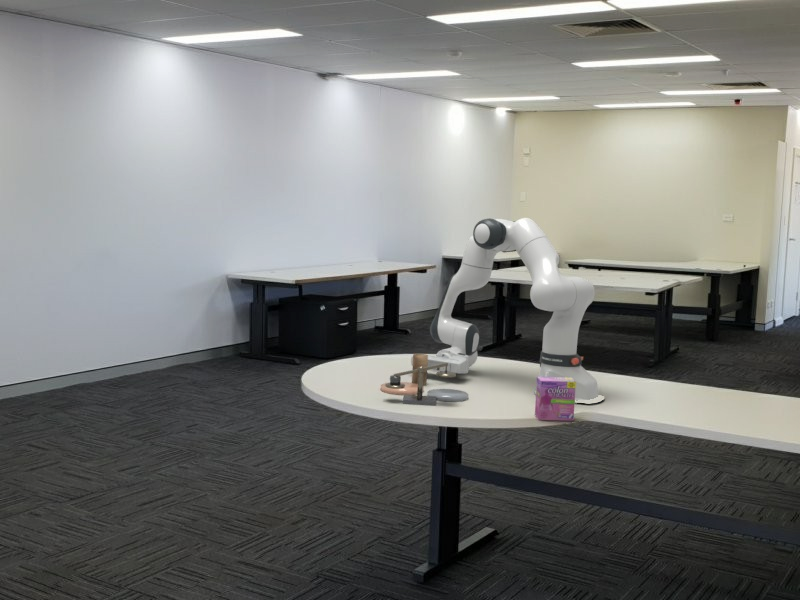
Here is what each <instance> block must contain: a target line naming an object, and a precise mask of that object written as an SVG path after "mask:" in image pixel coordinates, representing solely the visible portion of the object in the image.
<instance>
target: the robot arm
mask: <svg viewBox="0 0 800 600" xmlns="http://www.w3.org/2000/svg"><path fill="white" fill-rule="evenodd" d="M499 252H502V253H511V252H512V253H513V252H514V253H515V252H517V254H518V256H519V258H520V259H521V261H522V262H523V265H524V266H525V268H526V270H527V271H528V273H529V275H530V278H531V282H532V286H530V287H531V288H530V291H529V296H530V297H529V298H530V300H531V303H532V305H533V306H534V307H535V308H537V309H539V310H542V311H547V312H553V313H552V315H551V318H550V319H549V321H548V322H547V323H546V324H545V326H544V327H543V330H542V331H543V334H542V350H541V351H540V356H539V357H540V358H539V368H540V369H539V376H538V377H564V378H573V379H574V380H575V381H576V390H575V400H576V401H578V400H590V399H594V398H596V397H598V394H599V386H598V385H599V384H598V381H597V379H596V378H595V377H594V376H592V374H590V372H588V371H587V370H586V369H585V368H584V367H583V366H582V363H583V362H582V361H583V360H584V356H580V355H579V354H578V353H577V351H578V350H577V349H578V347H577V346H578V341H579V340H578V339H579V338H578V337H579V330H580V326H581V323H582V320H583V317H584V315H585V312H586V310H587V308H588V307H589V306H590V305H591V304H592V303H593V301H594V299H595V295H596V291H595V287H594V285H593V283H592V282H591V281H590V280H589V279H587V278H584V277H581V276H576V275H574V276H573V275H572V276H570V275H569V276H565V275H562V274H561V272H560V270H559V267H558V266H559V263H560V255H559V253H558V251H557V250H556V248H555V247H554V246H553V244H552V242H551V241H550V239H549V237H548V236H547V234H545V232H544V231H543V229H542V228H541V227H540V226H539V225H538V223H536V222H535V221H534V220H533V219H532V218H529V217H521V218H519V219H517V220H515V221H514V220H509V219H508V220H507V219H504V218H483V219H482V220H479V221H478V222H477V223H476V224H475V225H474V227H473V232H472V235H471V236H470V237H469V239H468V241H467V243H466V245H465V248H464V252H463V256H462V260H461V265H460V267H459V269H458V271H457V272H456V273H454V274H453V275H451V276H450V278H449V279H448V281H447V284H446V287H445V288H444V292H443V294H442V298H441V299H440V303H439V306H438V309H437V311H436V314H435V316H434V318H433V319H432V322H431V324H430V326H429V333H430V336H431V338H432V339H433V341H434V342H435V343H440V344H446V345H449V346H451V347H448V348H444V349H443V348H442V349H441V350H439V351H437V353H436V355H434V354H433V355H432V354H427V353H426V355H428V365H427V367H429V366H434V365H439V364H443V363H448V366H447V372H453V373H455V374H463V375H464V374H468V373H469V369H470V367H472V366H473V365H474V364H475V363H476V361H477V359H478V350H479V349H478V348H479V345H480V341H481V336H480V335H481V334H480V331H479V329H478V327H477V325H476V324H473V323H469V322H467V321H464V320H459V319H456V318H453V317H452V313H453V309H454V306H455V304H456V302H457V299H458V296H459V295H460V294H461V293H463V292H467V291H475V290H478V289H482V288H483V287H484V286H486V285H487V284H488V283H489V281H490V278H491V276H492V272H493V267H494V260H495V256H496V255H497V253H499ZM410 364H411V366H412V367H413V355H411V358H410ZM445 367H446V366H445ZM445 367H440V368H435V369H434V371H435V370H436V371H438V372H445ZM534 394H535V395H536V389H535V391H534Z"/></svg>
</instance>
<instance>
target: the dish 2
mask: <svg viewBox="0 0 800 600" xmlns="http://www.w3.org/2000/svg"><path fill="white" fill-rule="evenodd" d="M426 396H436V402H438V401H439V402H444V403H445V402H447V403H457V402H464V401H468V399H469V393H468V392H466V391H463V390H461V389H460V390H459V389H455V388H454V389H451V388H435V389H430V390H428V391H427V395H426Z"/></svg>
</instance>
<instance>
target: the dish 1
mask: <svg viewBox="0 0 800 600" xmlns="http://www.w3.org/2000/svg"><path fill="white" fill-rule="evenodd" d="M386 383H387V382H385V383H383V384H380V391H381V392H383V393H385V394H389V395H395V396H396V395H398V396H404V395H417V388H418V384H415V383H412V382H407V381H406V382H405V381H400V383H402V384H405V388H401V389H392V388H387V387H385V384H386ZM424 389H425V388H424V386H423V393H424V391H425V390H424Z"/></svg>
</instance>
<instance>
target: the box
mask: <svg viewBox="0 0 800 600" xmlns="http://www.w3.org/2000/svg"><path fill="white" fill-rule="evenodd" d="M535 390H536V394H535V407H534V408H535V409H534V416H535V415H536V416H535V418H536V417H537V418H538V419H537V418H536V419H537V421H557V422H559V421H560V422H561V421H563V422H565V421H569V422H574V421H575V407H576V406H575V404H576V403H575V390H576V381H575V380H574V379H573V378H564V377H539V376H537V377H536V387H535Z"/></svg>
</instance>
